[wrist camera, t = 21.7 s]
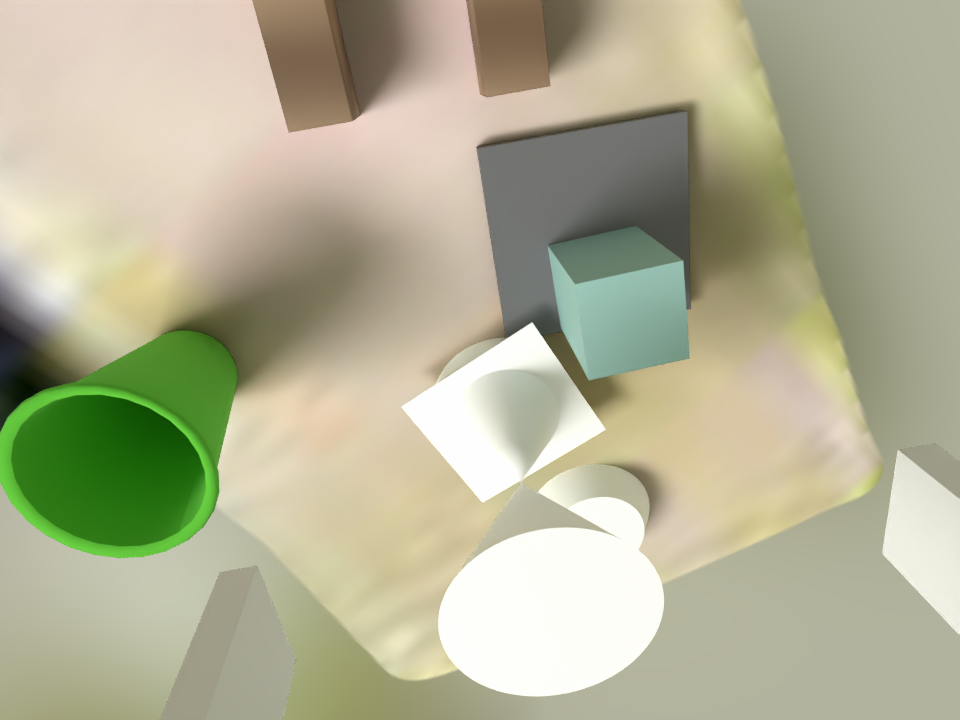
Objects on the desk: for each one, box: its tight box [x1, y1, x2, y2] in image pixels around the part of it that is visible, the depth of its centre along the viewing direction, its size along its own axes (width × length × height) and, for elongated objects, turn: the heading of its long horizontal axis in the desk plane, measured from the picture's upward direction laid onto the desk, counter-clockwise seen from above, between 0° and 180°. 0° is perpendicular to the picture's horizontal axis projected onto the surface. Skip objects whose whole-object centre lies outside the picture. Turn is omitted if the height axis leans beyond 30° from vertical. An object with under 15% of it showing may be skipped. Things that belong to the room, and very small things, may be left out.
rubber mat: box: [477, 111, 691, 339], centre depth 35 cm, size 11×11×1 cm
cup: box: [0, 330, 238, 558], centre depth 32 cm, size 9×9×11 cm
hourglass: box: [401, 323, 664, 696], centre depth 34 cm, size 20×9×17 cm, turn 34°
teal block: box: [548, 226, 690, 380], centre depth 33 cm, size 5×5×7 cm
